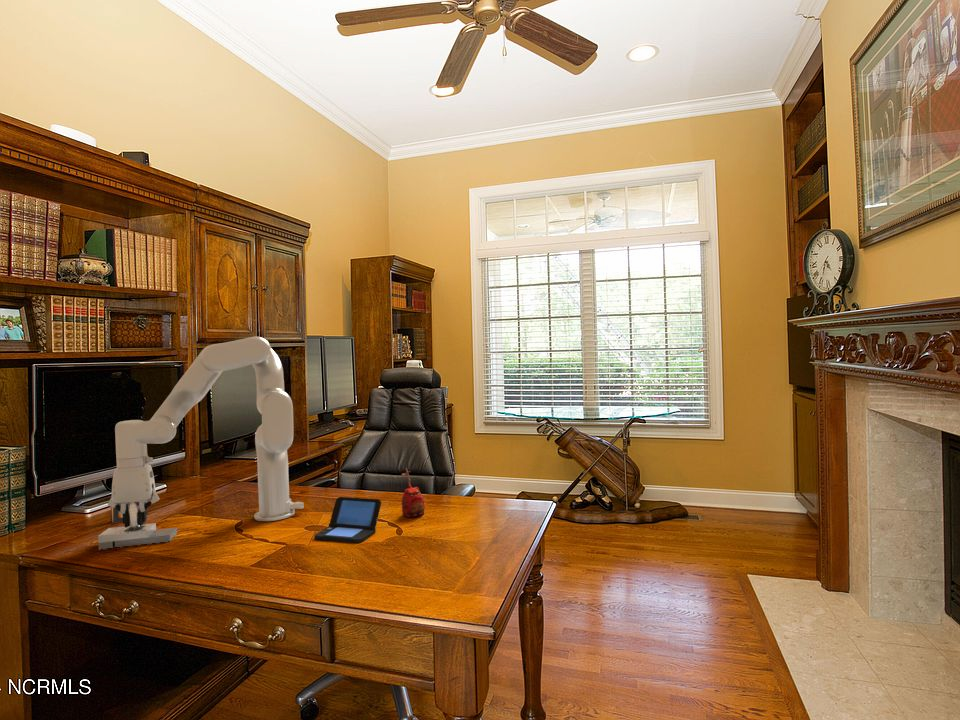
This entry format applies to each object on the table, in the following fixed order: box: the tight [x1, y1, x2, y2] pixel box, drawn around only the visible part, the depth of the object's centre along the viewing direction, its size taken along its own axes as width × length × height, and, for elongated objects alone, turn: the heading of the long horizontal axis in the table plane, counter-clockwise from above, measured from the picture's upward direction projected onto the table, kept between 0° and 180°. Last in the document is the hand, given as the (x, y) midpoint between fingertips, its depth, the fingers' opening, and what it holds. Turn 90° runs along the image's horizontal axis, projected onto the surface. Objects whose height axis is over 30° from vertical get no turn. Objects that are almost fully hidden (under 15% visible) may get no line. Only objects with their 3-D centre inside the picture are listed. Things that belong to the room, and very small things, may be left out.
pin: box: [128, 502, 141, 531], centre depth 153 cm, size 4×4×13 cm
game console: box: [314, 496, 382, 544], centre depth 155 cm, size 16×14×9 cm
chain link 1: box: [97, 522, 157, 551], centre depth 153 cm, size 12×7×4 cm, turn 105°
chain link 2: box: [114, 527, 178, 548], centre depth 154 cm, size 14×7×2 cm, turn 105°
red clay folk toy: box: [401, 467, 426, 519], centre depth 171 cm, size 8×7×15 cm
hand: (135, 524), depth 153 cm, fingers closed on pin, 3 cm apart
